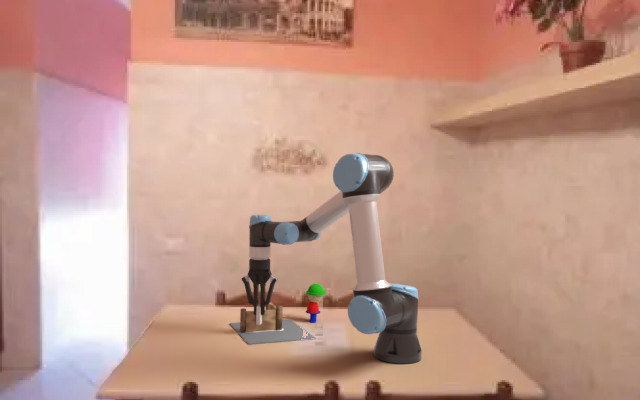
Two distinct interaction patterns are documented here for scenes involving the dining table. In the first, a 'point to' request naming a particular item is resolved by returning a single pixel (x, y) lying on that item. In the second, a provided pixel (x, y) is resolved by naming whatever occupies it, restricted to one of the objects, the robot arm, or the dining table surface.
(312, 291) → the toy
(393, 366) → the dining table surface
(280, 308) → the fence fixed
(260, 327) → the fence panel
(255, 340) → the mat
